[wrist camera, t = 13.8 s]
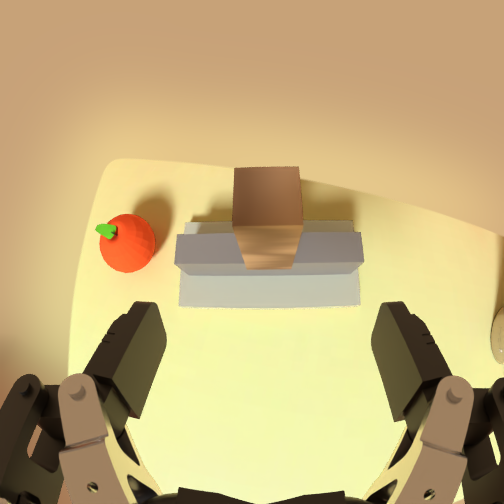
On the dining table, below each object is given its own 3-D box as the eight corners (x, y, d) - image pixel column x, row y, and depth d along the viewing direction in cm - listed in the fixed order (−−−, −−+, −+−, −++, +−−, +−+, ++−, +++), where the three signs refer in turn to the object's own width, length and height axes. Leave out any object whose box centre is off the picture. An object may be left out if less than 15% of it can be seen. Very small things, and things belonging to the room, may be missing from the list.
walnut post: (289, 228, 26) (298, 166, 16) (291, 269, 25) (303, 225, 15) (247, 228, 26) (234, 168, 17) (247, 269, 25) (231, 226, 15)
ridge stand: (349, 225, 32) (364, 200, 26) (356, 306, 29) (376, 298, 23) (188, 227, 34) (172, 203, 28) (182, 307, 31) (161, 299, 25)
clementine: (104, 265, 33) (73, 249, 26) (124, 219, 35) (98, 196, 28) (151, 286, 32) (123, 272, 25) (172, 235, 34) (150, 210, 27)
